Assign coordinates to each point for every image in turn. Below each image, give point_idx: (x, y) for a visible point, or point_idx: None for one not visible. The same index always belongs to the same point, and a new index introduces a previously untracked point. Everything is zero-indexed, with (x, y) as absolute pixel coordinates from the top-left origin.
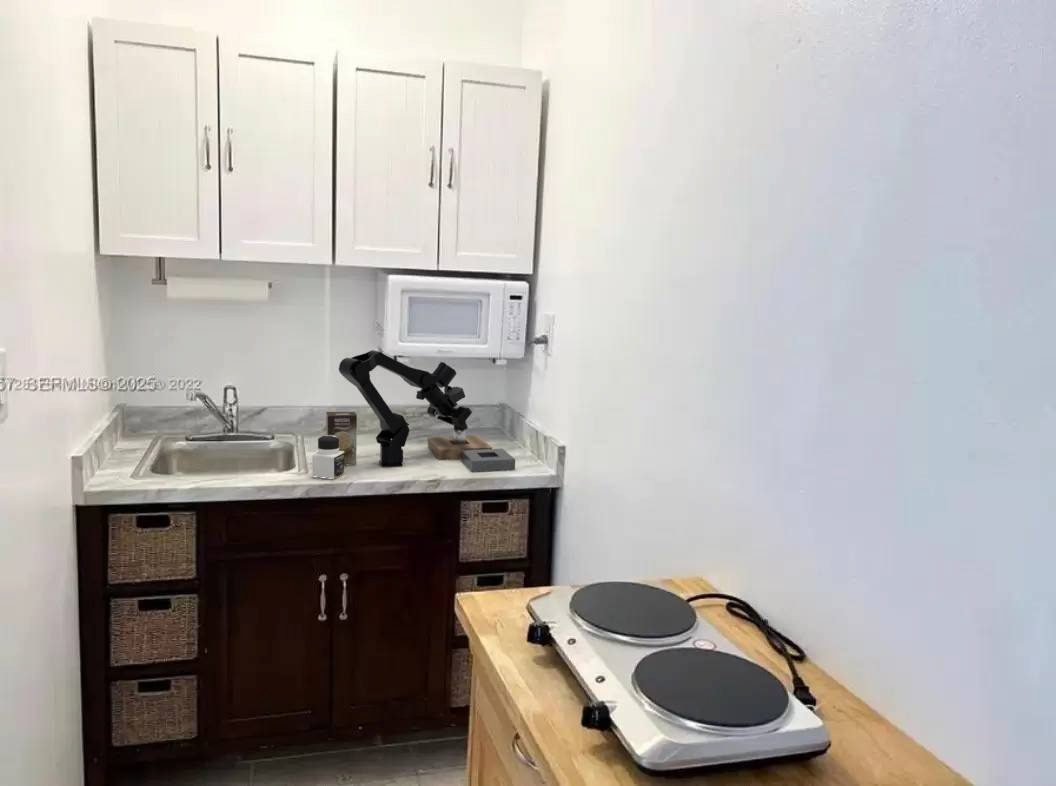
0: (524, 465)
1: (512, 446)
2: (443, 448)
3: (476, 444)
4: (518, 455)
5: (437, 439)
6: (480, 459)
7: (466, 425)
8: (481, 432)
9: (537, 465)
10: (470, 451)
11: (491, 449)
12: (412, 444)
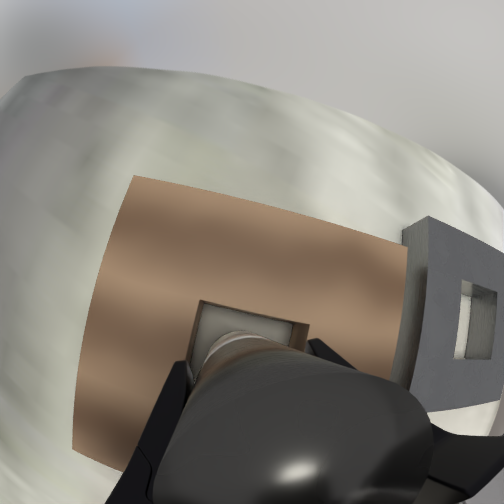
0: (465, 213)
1: (238, 97)
2: None
3: (333, 293)
4: (370, 151)
5: (129, 443)
6: (500, 369)
7: (339, 359)
8: (27, 118)
9: (465, 182)
10: (432, 378)
11: (433, 269)
12: (44, 447)
